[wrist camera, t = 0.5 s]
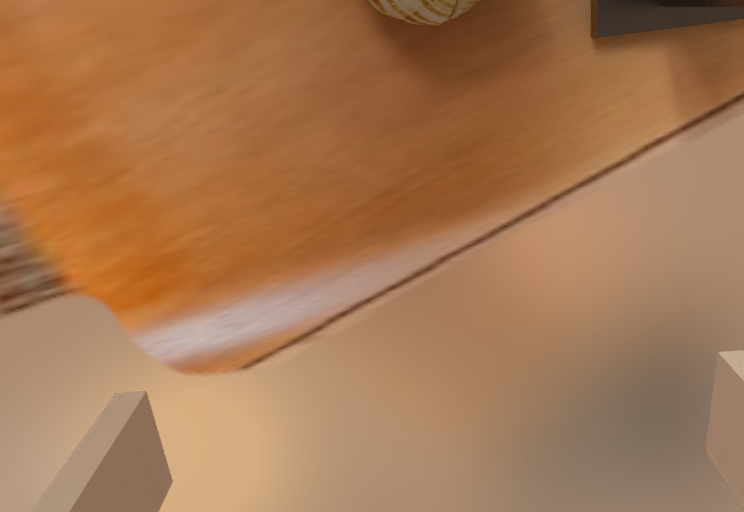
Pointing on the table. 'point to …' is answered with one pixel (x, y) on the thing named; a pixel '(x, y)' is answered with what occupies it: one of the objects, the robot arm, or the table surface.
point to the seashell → (423, 10)
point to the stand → (658, 14)
